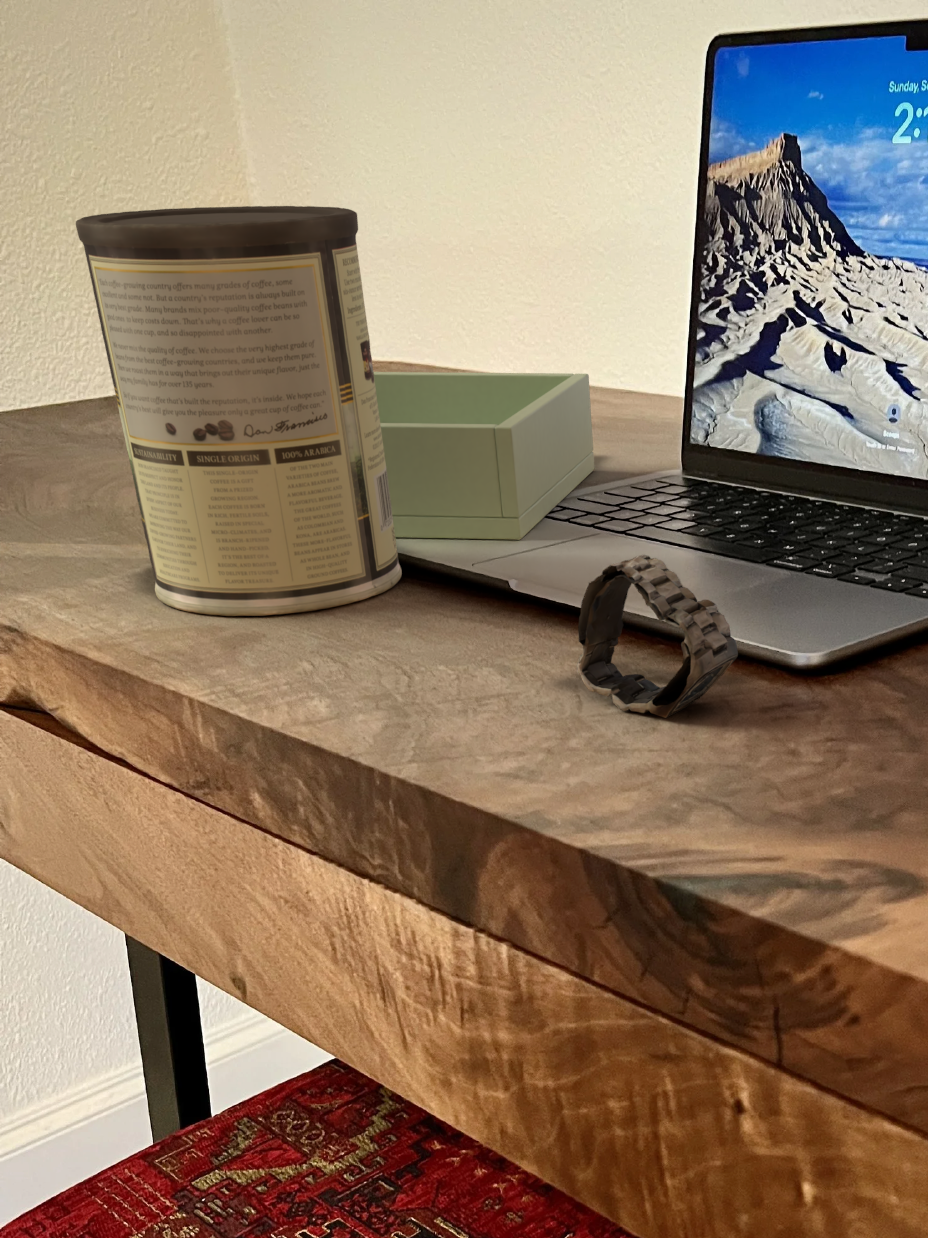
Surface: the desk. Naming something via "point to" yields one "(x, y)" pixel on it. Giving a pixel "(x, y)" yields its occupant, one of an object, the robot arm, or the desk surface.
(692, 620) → the wristwatch
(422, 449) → the drawer tray
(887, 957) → the desk surface
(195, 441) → the coffee can
